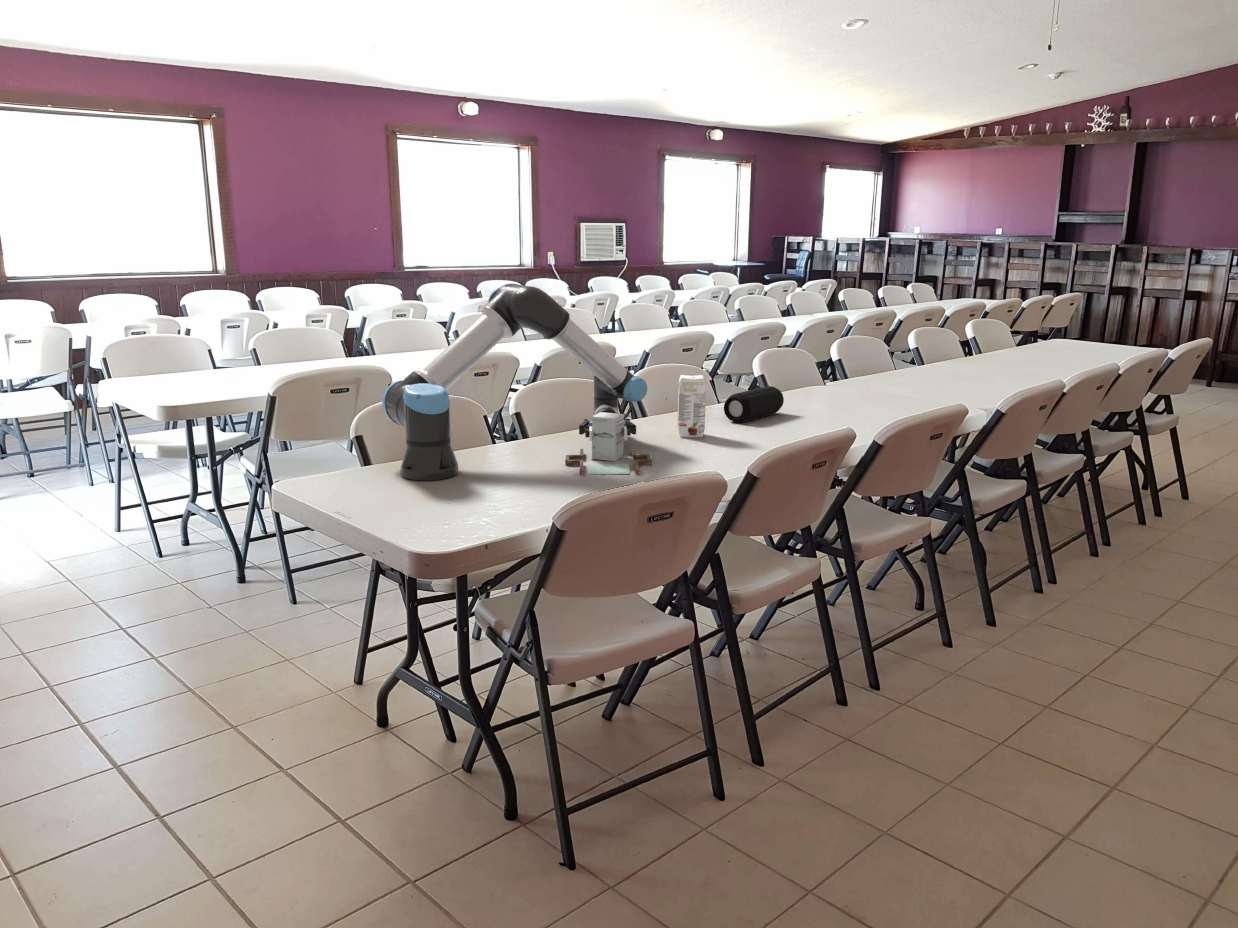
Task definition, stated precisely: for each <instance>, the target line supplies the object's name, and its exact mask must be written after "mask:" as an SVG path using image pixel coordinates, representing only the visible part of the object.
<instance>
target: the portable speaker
mask: <svg viewBox="0 0 1238 928" xmlns="http://www.w3.org/2000/svg"><path fill="white" fill-rule="evenodd" d="M784 402H785V398H784V395H783V393H782V391H781V390H780V389H779V388H777V387H774V386H772V385H768V386H767V385H766V386H763V387H758V388H753V389H750V390H745V391H741V392H738V393H737V392H736V393H734V394H732V395H730V396H729V397H728V398H727V399H726V400H725V402H724V404H723V412H724V415H725V417H726V418H727V419H728V420H729V421H731V422H734V423H738V424H739V423H740V424H741V423H745V422H749V421H752V420H753V421H754V420H757V419H759V418H760V419H761V418H763V416H764V417H767V416H770V414H771V415H774V414H776V413H778V412H779V411H780V410H781V408H782V407H783V405H784ZM756 418H757V419H756Z"/></svg>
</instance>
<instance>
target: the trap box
mask: <svg viewBox="0 0 1238 928" xmlns="http://www.w3.org/2000/svg"><path fill="white" fill-rule="evenodd" d="M630 454H631V457H632V461H633V469H634V474H635V476H640V467H644V466H645V467H647V466H652V465H653V464H652V463H653V459H652V456H651V454H647V453H646V454H638V453H637V452H636V449H635V448H631V453H630ZM564 458H565V460H564V461H565V463H564V465H565V466H567V467H573V466H574V467H579V476H584V448H579V454H565V457H564Z"/></svg>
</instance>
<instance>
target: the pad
mask: <svg viewBox="0 0 1238 928" xmlns="http://www.w3.org/2000/svg"><path fill="white" fill-rule="evenodd" d="M630 471H631V470H630V465H629V464H628V463H620V464H619V463H618V464H617V463H614V464H613V463H612V464H611V463H610V464H609V463H608V464H607V463H606V464H604V463H602V464H599V463H598V464H597V463H595V464H593V463H589V464H588V475H590V476H597V475H598V476H599V475H600V476H601V474H630V475H631V472H630Z"/></svg>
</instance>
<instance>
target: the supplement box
mask: <svg viewBox="0 0 1238 928" xmlns="http://www.w3.org/2000/svg"><path fill="white" fill-rule="evenodd" d="M591 417H592V418H591V422H592V441H591V459H592V460H600V461H609V462H610V461H611V462H616V461H619V460H620V459H621V458H623V456H624V441H625V440H624V420H625V414H623V413H618V414H616V413H605V412H600V413H598V414H596V415H594V414H593V416H591ZM619 458H620V459H619Z"/></svg>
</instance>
